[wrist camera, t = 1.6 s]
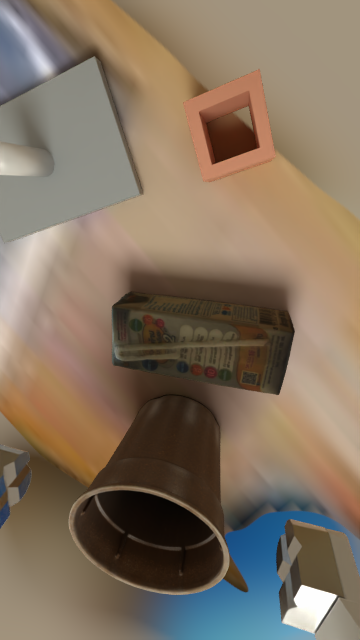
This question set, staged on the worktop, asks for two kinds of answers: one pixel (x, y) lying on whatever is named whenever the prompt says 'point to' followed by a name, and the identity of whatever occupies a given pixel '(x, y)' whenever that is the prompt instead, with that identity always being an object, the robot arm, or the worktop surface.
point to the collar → (221, 104)
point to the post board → (62, 153)
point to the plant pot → (158, 503)
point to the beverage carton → (202, 340)
